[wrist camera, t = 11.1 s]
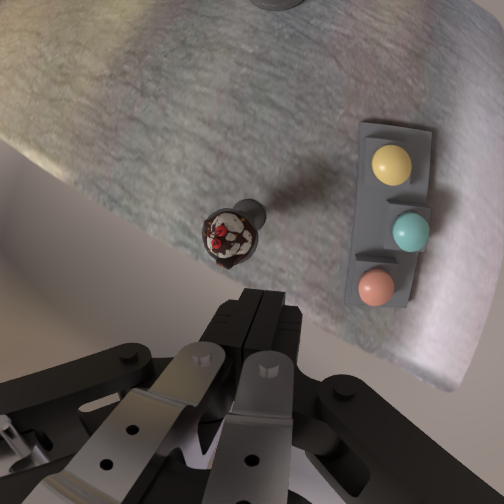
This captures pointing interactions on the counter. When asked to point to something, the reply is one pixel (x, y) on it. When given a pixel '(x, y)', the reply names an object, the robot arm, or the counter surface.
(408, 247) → the button teal
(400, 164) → the button ochre
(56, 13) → the counter surface
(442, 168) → the counter surface
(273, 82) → the counter surface
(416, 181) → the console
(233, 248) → the sundae
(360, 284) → the salmon orange dome button
